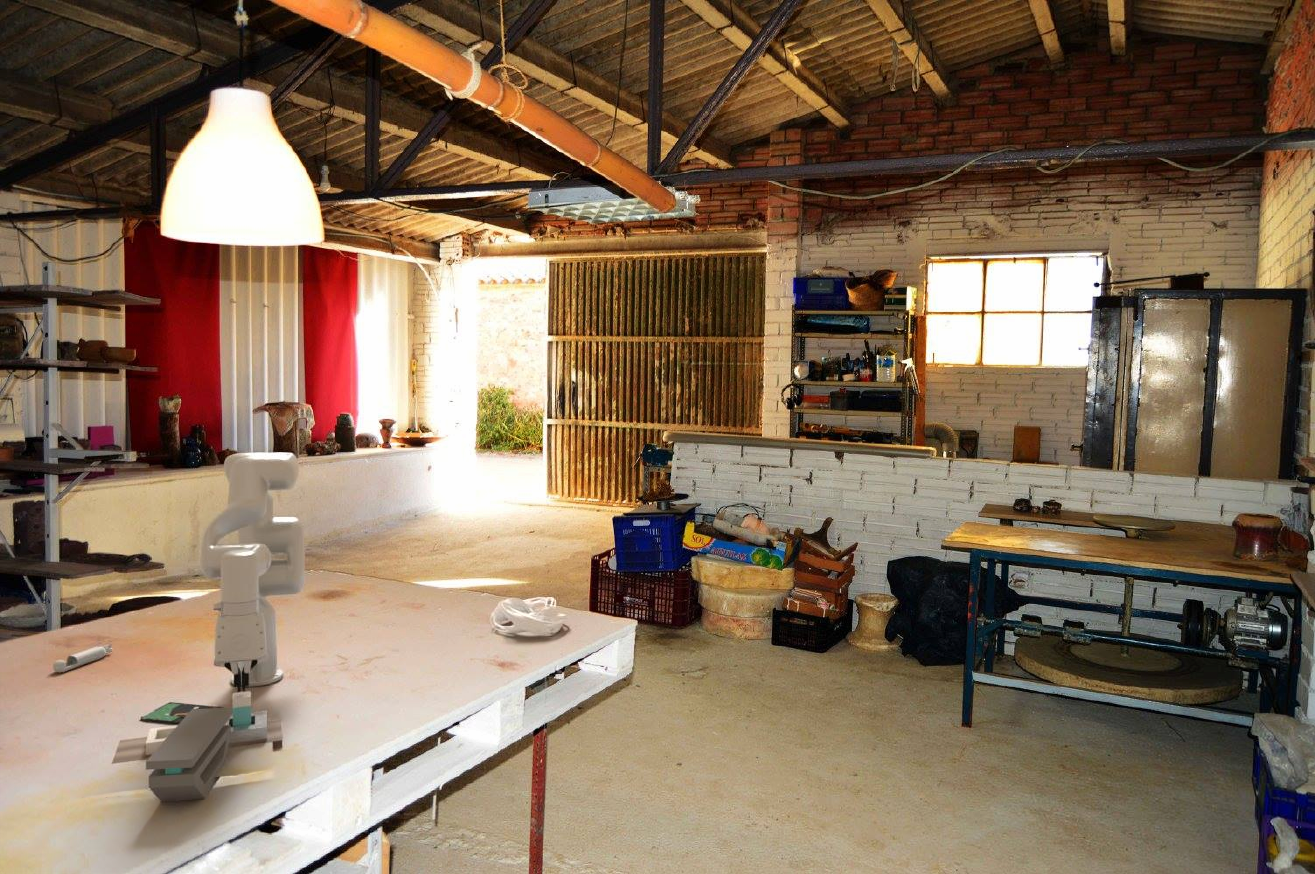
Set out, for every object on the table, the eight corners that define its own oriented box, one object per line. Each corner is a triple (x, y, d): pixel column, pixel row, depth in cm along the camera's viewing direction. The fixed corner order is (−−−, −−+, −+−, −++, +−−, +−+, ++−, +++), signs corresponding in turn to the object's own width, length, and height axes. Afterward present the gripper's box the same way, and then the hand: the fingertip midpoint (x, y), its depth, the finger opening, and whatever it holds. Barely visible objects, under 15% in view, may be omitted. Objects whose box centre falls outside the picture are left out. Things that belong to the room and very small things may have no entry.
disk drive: (226, 718, 213) (169, 712, 215) (226, 706, 212) (169, 700, 215) (196, 735, 202) (137, 729, 205) (196, 723, 202) (137, 717, 205)
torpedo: (63, 675, 237) (62, 651, 237) (48, 673, 238) (47, 649, 238) (118, 654, 255) (118, 631, 254) (104, 653, 256) (103, 630, 255)
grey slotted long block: (193, 816, 166) (192, 759, 165) (147, 819, 165) (145, 761, 164) (232, 757, 191) (232, 707, 190) (192, 759, 189) (191, 709, 188)
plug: (233, 732, 199) (232, 693, 199) (251, 730, 201) (250, 691, 200) (233, 739, 196) (232, 698, 195) (251, 736, 198) (250, 696, 197)
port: (217, 729, 201) (217, 716, 201) (266, 723, 205) (266, 710, 205) (216, 747, 192) (215, 733, 192) (267, 740, 196) (267, 726, 196)
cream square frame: (150, 739, 195) (150, 728, 195) (192, 734, 198) (192, 723, 198) (146, 754, 187) (145, 743, 187) (190, 748, 191) (190, 737, 191)
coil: (553, 643, 275) (554, 613, 274) (478, 635, 279) (479, 605, 278) (575, 622, 299) (576, 594, 299) (505, 614, 303) (506, 587, 303)
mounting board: (120, 747, 194) (119, 740, 194) (281, 726, 207) (281, 719, 207) (111, 770, 183) (111, 763, 183) (282, 746, 196) (282, 739, 196)
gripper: (200, 614, 190) (202, 700, 191) (277, 608, 196) (278, 691, 197) (202, 606, 197) (204, 688, 198) (277, 600, 203) (278, 680, 204)
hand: (241, 689), depth 198 cm, fingers closed
